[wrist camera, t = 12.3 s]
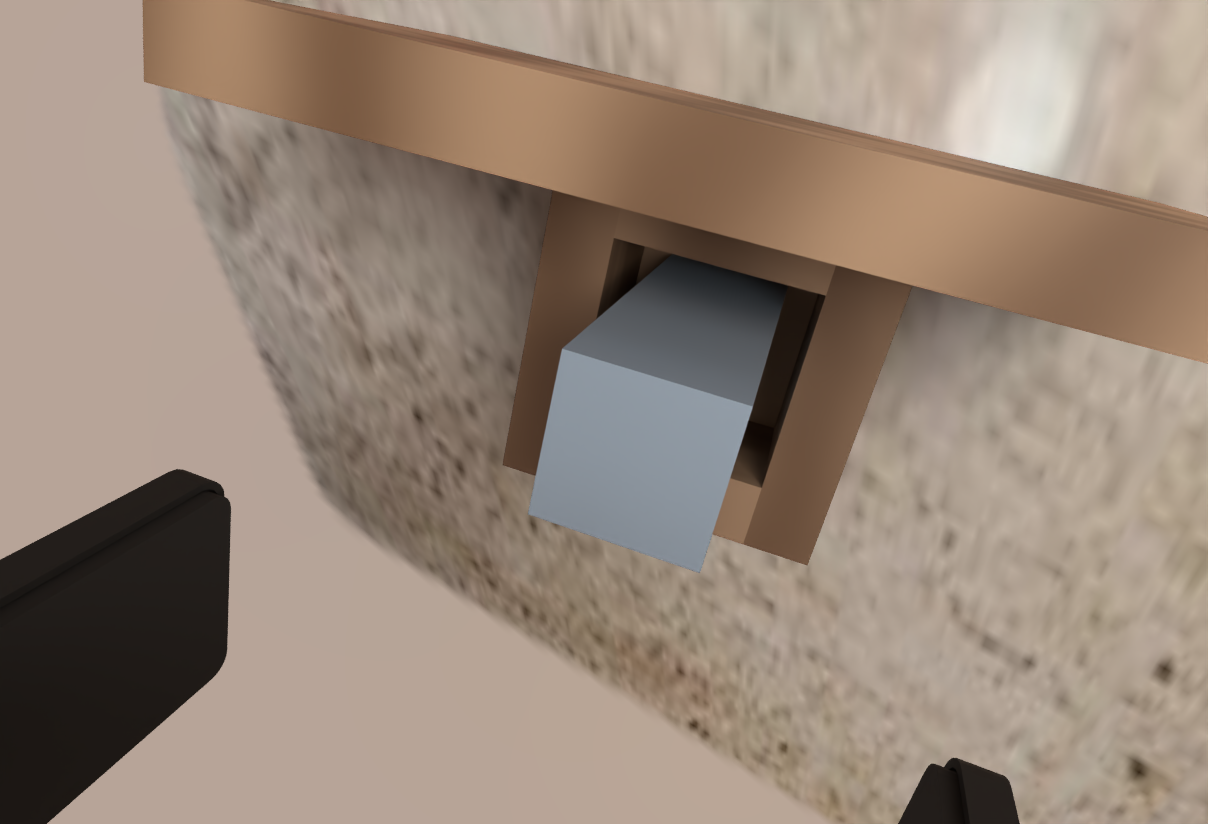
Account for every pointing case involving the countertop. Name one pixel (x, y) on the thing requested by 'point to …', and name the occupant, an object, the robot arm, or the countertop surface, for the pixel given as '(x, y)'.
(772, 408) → the small wooden stand
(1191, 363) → the countertop surface
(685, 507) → the plain blue gray block
